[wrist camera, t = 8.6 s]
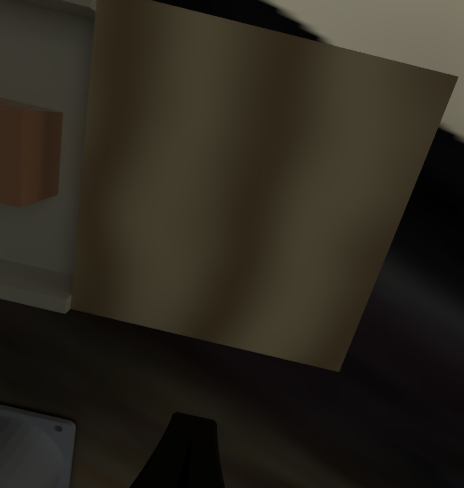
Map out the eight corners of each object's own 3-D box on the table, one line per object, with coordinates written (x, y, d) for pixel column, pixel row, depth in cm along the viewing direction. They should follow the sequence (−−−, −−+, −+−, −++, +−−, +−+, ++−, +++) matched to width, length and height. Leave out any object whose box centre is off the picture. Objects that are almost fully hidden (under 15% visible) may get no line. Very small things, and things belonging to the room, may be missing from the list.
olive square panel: (92, 287, 20) (70, 308, 18) (121, 8, 15) (97, -13, 13) (328, 342, 20) (338, 371, 18) (427, 84, 16) (458, 76, 13)
